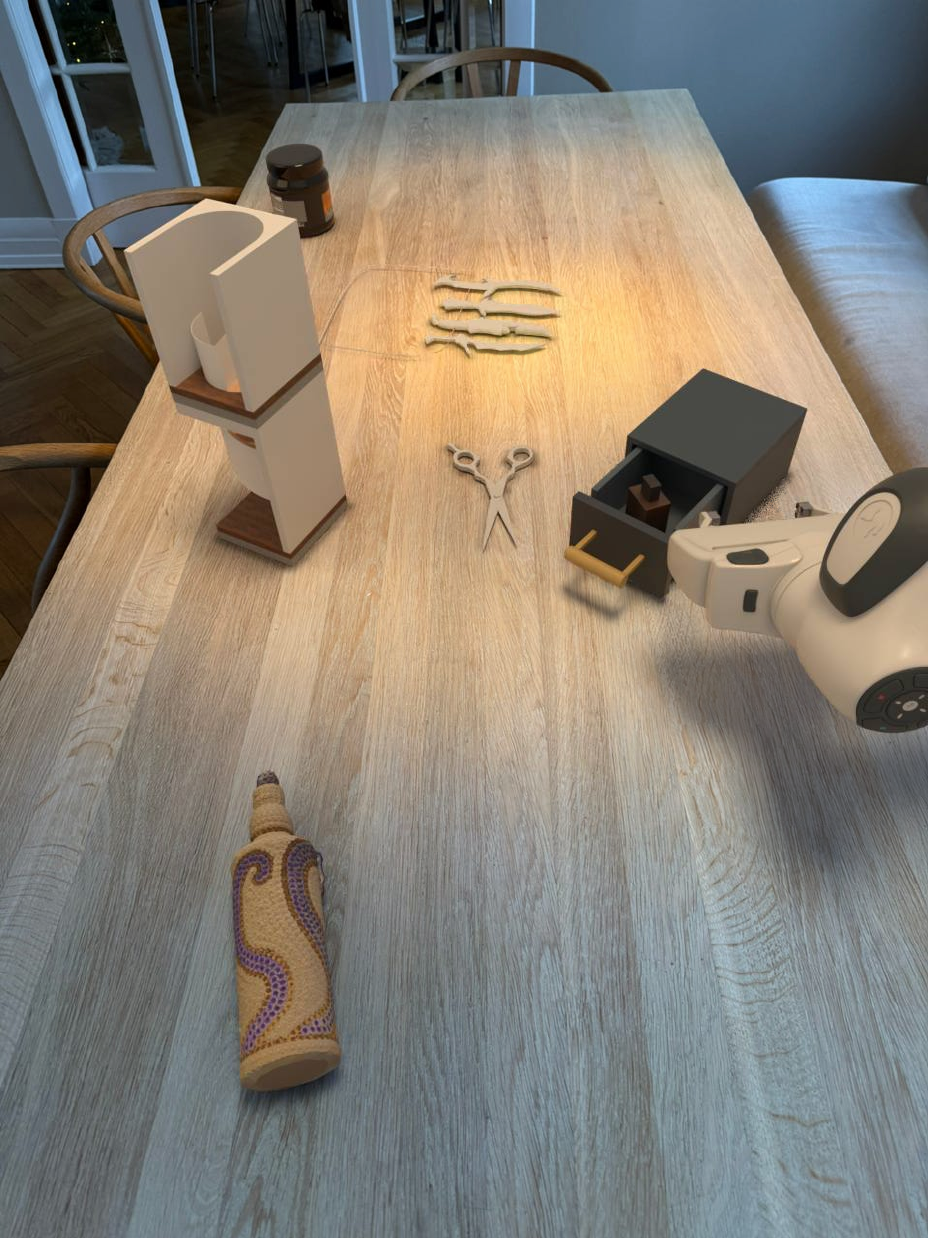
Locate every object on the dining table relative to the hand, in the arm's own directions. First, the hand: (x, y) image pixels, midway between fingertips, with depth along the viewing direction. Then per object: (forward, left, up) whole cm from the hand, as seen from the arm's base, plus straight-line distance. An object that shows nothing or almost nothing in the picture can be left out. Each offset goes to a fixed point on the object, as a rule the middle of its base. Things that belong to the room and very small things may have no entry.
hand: (754, 513), depth 85 cm
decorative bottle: (+10, +54, -13) cm, 57 cm away
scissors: (+31, +2, -13) cm, 33 cm away
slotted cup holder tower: (+48, +21, -13) cm, 54 cm away
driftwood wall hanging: (+63, -26, -13) cm, 69 cm away
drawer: (+12, -1, -12) cm, 17 cm away
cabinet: (+12, -15, -13) cm, 23 cm away
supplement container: (+103, -34, -13) cm, 109 cm away
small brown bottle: (+12, -1, -11) cm, 16 cm away
